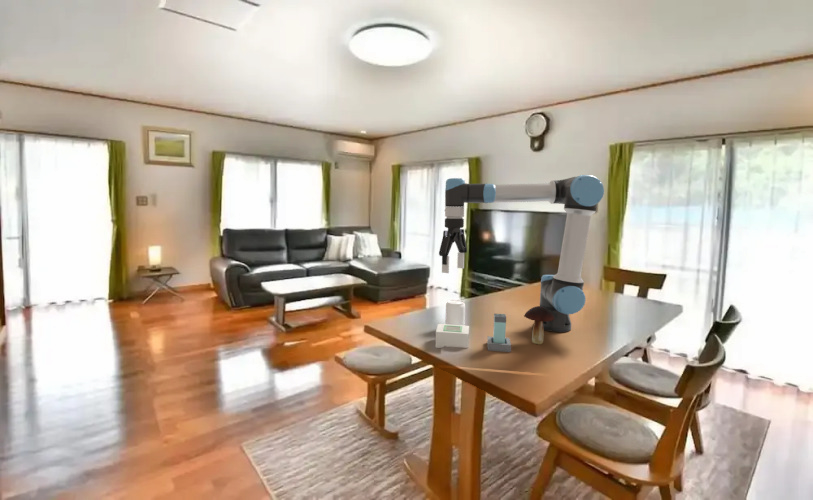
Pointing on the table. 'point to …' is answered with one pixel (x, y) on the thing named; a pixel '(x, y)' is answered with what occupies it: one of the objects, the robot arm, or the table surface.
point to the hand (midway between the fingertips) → (453, 270)
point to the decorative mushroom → (538, 322)
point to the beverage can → (455, 312)
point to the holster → (499, 345)
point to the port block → (452, 336)
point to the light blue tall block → (499, 328)
